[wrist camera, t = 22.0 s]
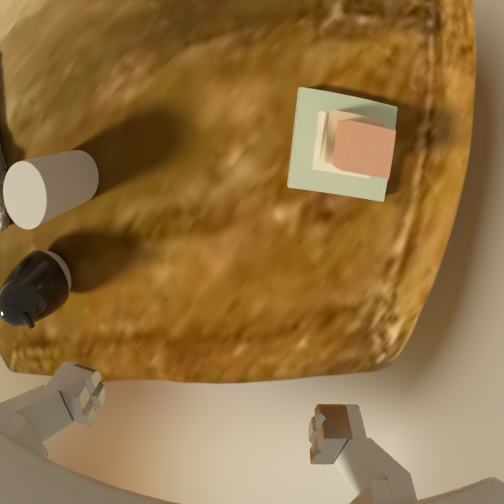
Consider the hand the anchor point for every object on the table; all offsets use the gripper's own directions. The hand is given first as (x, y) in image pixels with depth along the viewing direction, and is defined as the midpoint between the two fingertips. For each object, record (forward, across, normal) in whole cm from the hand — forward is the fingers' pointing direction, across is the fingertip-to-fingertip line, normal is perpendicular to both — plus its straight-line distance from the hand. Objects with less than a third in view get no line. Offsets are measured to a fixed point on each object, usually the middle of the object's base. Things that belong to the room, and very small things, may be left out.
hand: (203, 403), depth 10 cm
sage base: (+31, -10, -9) cm, 34 cm away
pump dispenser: (+31, +32, +14) cm, 47 cm away
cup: (+31, +26, -2) cm, 41 cm away
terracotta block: (+24, -10, -9) cm, 27 cm away
